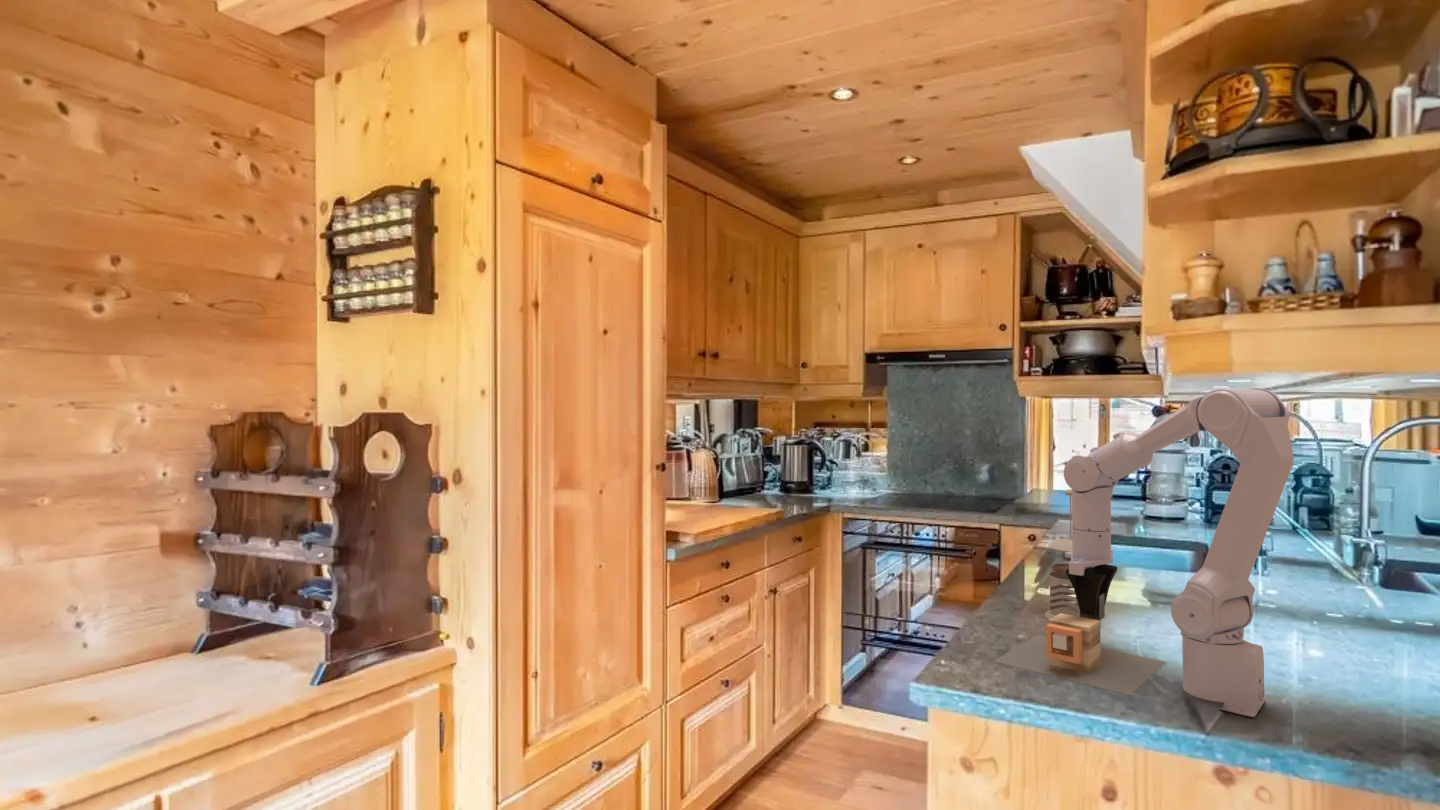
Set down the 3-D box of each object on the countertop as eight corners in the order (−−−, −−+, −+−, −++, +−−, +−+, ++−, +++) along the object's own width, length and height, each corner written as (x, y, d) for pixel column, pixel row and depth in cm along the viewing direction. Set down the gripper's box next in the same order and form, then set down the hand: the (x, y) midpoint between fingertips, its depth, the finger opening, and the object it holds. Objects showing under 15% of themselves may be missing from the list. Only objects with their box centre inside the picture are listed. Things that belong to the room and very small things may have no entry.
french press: (1062, 607, 152) (1061, 485, 152) (1119, 621, 142) (1118, 490, 142) (1033, 615, 146) (1032, 488, 146) (1090, 630, 137) (1089, 494, 136)
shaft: (1104, 627, 122) (1104, 593, 122) (1070, 651, 111) (1069, 612, 111) (1085, 624, 124) (1085, 589, 124) (1049, 646, 113) (1049, 608, 113)
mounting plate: (1166, 668, 117) (1166, 661, 117) (1130, 702, 105) (1130, 695, 105) (1038, 640, 131) (1038, 634, 131) (993, 667, 119) (992, 661, 119)
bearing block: (1100, 665, 116) (1100, 620, 116) (1089, 674, 113) (1088, 627, 113) (1061, 656, 120) (1060, 613, 120) (1048, 664, 117) (1048, 620, 117)
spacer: (1082, 661, 112) (1082, 629, 112) (1078, 664, 111) (1078, 632, 111) (1050, 654, 116) (1049, 623, 116) (1046, 656, 115) (1045, 625, 115)
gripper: (1081, 520, 130) (1082, 598, 130) (1049, 531, 120) (1049, 616, 120) (1125, 525, 125) (1126, 605, 125) (1095, 537, 115) (1096, 625, 115)
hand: (1092, 611), depth 122 cm, fingers open, 3 cm apart
